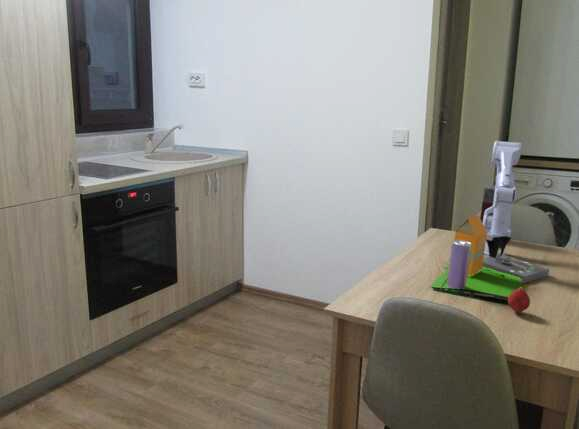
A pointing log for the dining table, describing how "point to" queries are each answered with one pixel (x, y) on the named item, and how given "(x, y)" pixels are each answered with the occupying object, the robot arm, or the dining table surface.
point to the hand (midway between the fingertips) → (495, 256)
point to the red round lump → (519, 300)
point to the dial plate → (517, 268)
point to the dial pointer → (506, 259)
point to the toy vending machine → (487, 198)
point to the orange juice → (473, 241)
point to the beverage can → (459, 264)
